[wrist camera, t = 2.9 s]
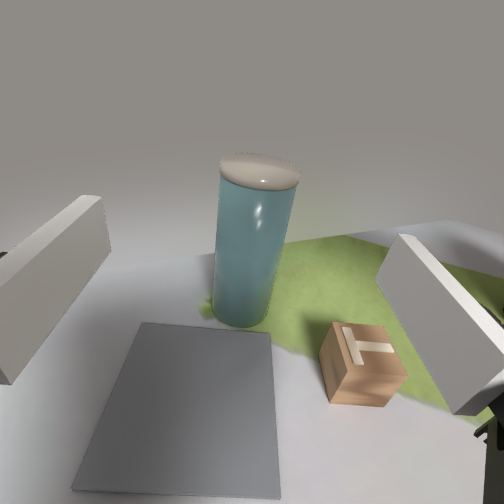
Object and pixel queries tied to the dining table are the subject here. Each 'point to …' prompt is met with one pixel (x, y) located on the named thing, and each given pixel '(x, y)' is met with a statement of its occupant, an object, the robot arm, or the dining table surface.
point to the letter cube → (360, 365)
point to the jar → (250, 234)
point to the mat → (189, 418)
